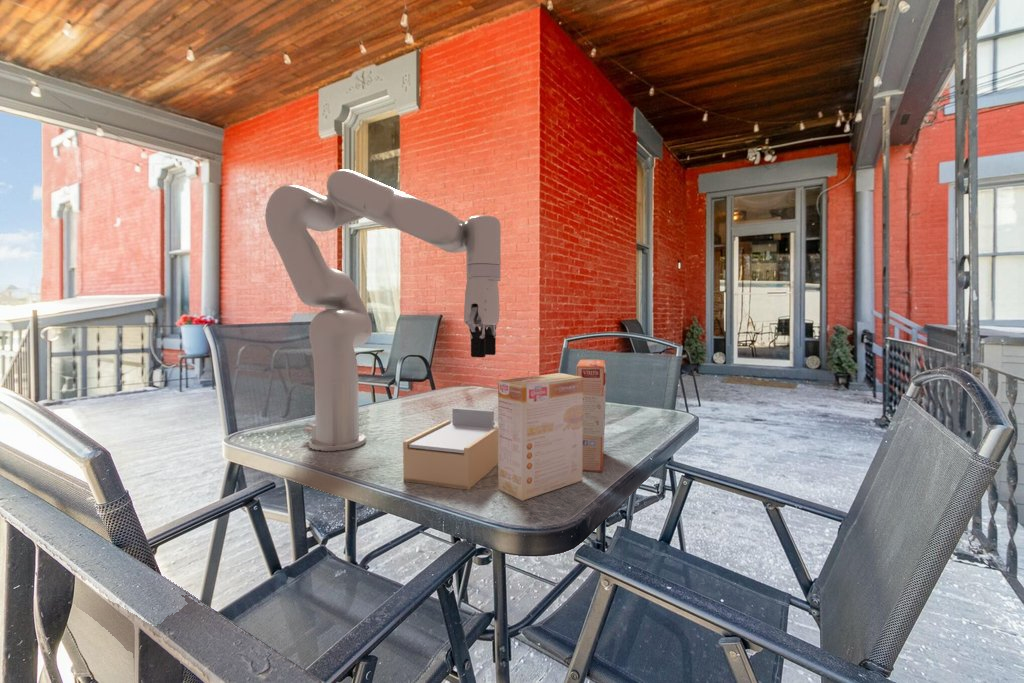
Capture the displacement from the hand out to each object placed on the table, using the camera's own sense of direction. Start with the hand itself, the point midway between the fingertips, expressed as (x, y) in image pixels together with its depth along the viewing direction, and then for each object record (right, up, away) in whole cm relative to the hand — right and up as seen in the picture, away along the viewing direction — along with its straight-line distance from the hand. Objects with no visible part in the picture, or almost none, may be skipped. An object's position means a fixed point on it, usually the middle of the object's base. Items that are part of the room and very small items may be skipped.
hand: (483, 355), depth 104 cm
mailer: (-5, -22, -12) cm, 26 cm away
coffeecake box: (+12, -23, -20) cm, 33 cm away
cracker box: (+23, -22, -6) cm, 32 cm away
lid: (-5, -16, -12) cm, 21 cm away
